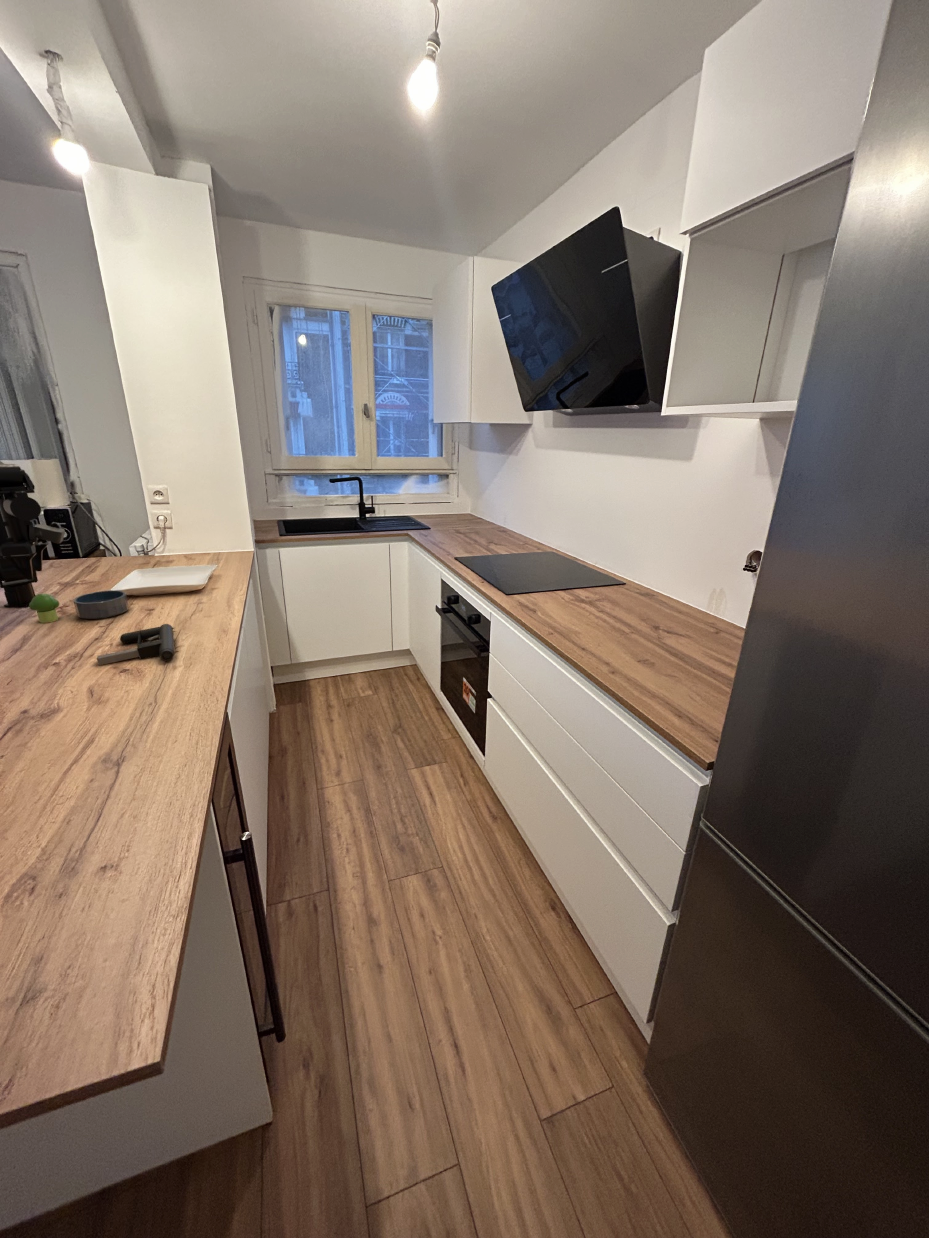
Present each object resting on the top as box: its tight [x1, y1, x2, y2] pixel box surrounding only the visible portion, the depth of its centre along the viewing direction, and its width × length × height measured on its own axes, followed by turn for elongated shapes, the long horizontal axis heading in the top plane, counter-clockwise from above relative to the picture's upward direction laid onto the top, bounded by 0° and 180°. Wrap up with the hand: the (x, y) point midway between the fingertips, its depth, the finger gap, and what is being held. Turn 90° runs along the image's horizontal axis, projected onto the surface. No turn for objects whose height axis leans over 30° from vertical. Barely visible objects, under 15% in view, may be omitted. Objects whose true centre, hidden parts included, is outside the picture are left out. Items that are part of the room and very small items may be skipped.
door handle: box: [96, 623, 179, 666], centre depth 115 cm, size 3×20×16 cm
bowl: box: [72, 590, 130, 620], centre depth 139 cm, size 12×12×5 cm
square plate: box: [109, 564, 218, 597], centre depth 166 cm, size 27×27×4 cm
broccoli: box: [28, 593, 60, 624], centre depth 133 cm, size 6×5×8 cm
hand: (35, 575), depth 129 cm, fingers open, 9 cm apart
